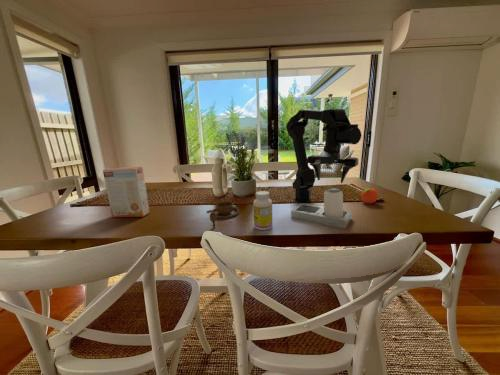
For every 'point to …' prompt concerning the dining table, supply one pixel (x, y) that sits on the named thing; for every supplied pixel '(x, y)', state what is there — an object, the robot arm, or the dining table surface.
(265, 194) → the supplement bottle
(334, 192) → the can
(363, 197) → the clementine
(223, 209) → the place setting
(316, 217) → the grey compartment tray
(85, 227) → the dining table surface
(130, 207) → the cracker box
